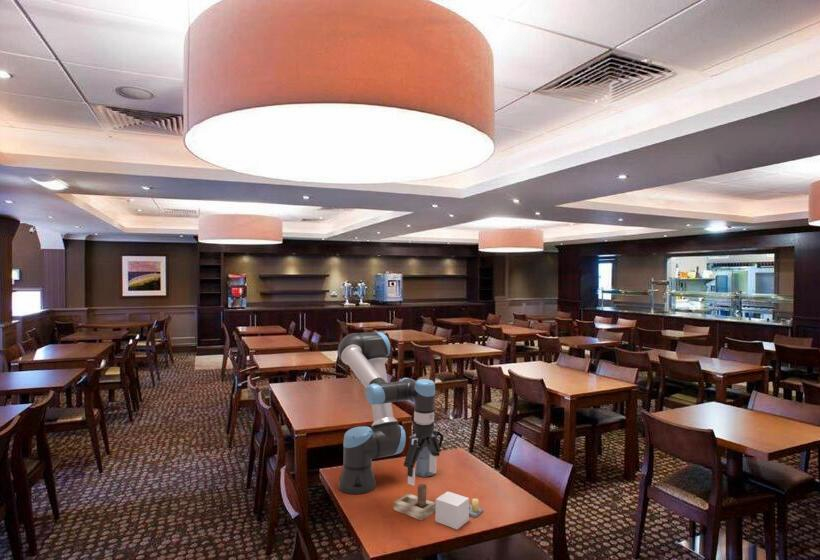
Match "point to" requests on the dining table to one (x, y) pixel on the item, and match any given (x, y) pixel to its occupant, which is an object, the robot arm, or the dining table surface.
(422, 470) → the moka pot
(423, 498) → the peg
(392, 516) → the dining table surface
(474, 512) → the board
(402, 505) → the socket board
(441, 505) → the white cube block
